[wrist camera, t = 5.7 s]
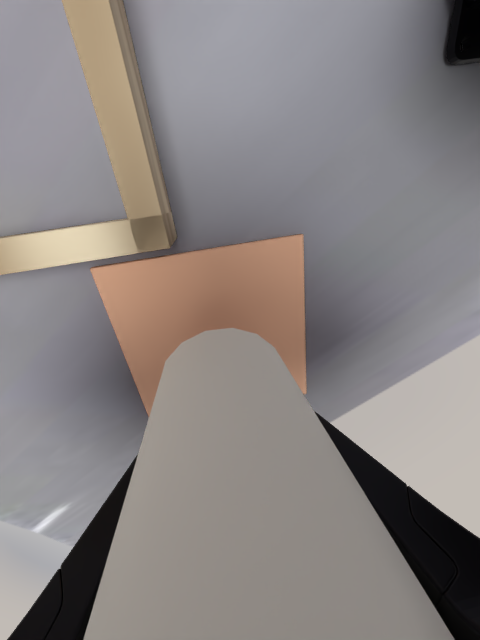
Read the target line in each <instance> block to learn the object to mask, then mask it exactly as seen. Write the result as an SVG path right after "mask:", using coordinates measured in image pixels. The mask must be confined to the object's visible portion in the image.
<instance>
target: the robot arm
mask: <svg viewBox="0 0 480 640" xmlns="http://www.w3.org/2000/svg"><path fill="white" fill-rule="evenodd" d="M461 43H462V45H463V49H462V52H461V50H460V44H461ZM447 60H448V62H449V63H450V64H454V65H455V64H464V63H473V62H480V0H455V4H454V10H453V16H452V22H451V28H450V34H449V40H448V46H447ZM315 414H316V415H317V417H318V419H319V420H320V422H321V424H322V425H323V427H324V428H325V430H326V432H327V433H328V435H329V437H330V438H331V440H332V441H333V443H334V445H335V446H336V448H337V449H338V451H339V453H340V454H341V456H342V458H343V459H344V461H345V462H346V464H347V466H348V467H349V469H350V471H351V472H352V474H353V475H354V477H355V479H356V480H357V482H358V484H359V485H360V487H361V488H362V490H363V492H364V493H365V495H366V497H367V498H368V500H369V501H370V503H371V505H372V506H373V508H374V510H375V511H376V513H377V514H378V516H379V518H380V519H381V521H382V523H383V524H384V526H385V527H386V529H387V531H388V532H389V534H390V536H391V537H392V539H393V540H394V542H395V544H396V545H397V547H398V548H399V550H400V552H401V553H402V555H403V557H404V558H405V560H406V561H407V563H408V565H409V566H410V568H411V570H412V571H413V573H414V574H415V576H416V578H417V579H418V581H419V583H420V584H421V586H422V587H423V589H424V591H425V592H426V594H427V596H428V597H429V599H430V600H431V602H432V604H433V605H434V607H435V609H436V610H437V612H438V613H439V615H440V617H441V618H442V620H443V622H444V623H445V625H446V626H447V628H448V630H449V631H450V633H451V635H452V636H453V638H454V639H455V640H480V538H478V537H477V536H476V535H474V534H473V533H471V532H470V531H468V530H467V529H465V528H464V527H463V526H461V525H459V524H458V523H457V522H456V521H454V520H453V519H451V518H450V517H449V516H447V515H446V514H444V513H443V512H441V511H440V510H439V509H438V508H436V507H435V506H434V505H432V504H431V503H430V502H428V501H427V500H426V499H424V498H423V497H422V496H421V495H419V494H418V493H417V492H416V491H414V490H413V489H412V488H411V487H409V486H407V485H406V483H404V482H403V481H402V480H400V479H399V478H398V477H397V476H396V475H394V474H393V473H392V472H391V471H389V470H388V469H387V468H385V467H384V466H383V465H382V464H380V463H379V462H378V461H377V460H375V459H374V458H373V457H372V456H370V455H369V454H368V453H367V452H365V451H364V450H363V449H362V448H360V447H359V446H358V445H356V444H355V443H354V442H353V441H352V440H350V439H349V438H348V437H347V436H345V435H344V434H343V433H342V432H340V431H339V430H338V429H337V428H335V427H334V426H333V425H332V424H330V423H329V422H328V421H327V420H325V419H324V418H323V417H321V416H320V415H319V414H318V413H316V412H315ZM137 456H138V455H137ZM137 456H136V458H135V459H134V461H133V462H132V463H131V465H130V466H129V468H128V469H127V471H126V472H125V474H124V475H123V476H122V478H121V479H120V481H119V482H118V484H117V485H116V487H115V488H114V489H113V491H112V492H111V494H110V495H109V497H108V498H107V500H106V501H105V503H104V504H103V505H102V507H101V508H100V510H99V511H98V513H97V514H96V516H95V517H94V518H93V520H92V521H91V523H90V524H89V526H88V527H87V529H86V530H85V531H84V533H83V534H82V536H81V537H80V539H79V540H78V542H77V543H76V544H75V546H74V547H73V549H72V550H71V552H70V553H69V555H68V556H67V558H66V559H65V560H64V562H63V563H62V565H61V569H58V570H57V572H56V573H55V575H54V576H53V577H52V579H51V580H50V582H49V583H48V585H47V586H46V588H45V589H44V590H43V592H42V593H41V595H40V596H39V597H38V599H37V600H36V602H35V603H34V604H33V606H32V607H31V609H30V610H29V611H28V613H27V614H26V616H25V617H24V618H23V620H22V621H21V622H20V624H19V625H18V626H17V628H16V629H15V630H14V632H13V633H12V634H11V635H10V637H9V638H8V639H7V640H83V639H84V636H85V632H86V629H87V626H88V622H89V619H90V615H91V612H92V609H93V605H94V602H95V599H96V595H97V592H98V588H99V585H100V582H101V578H102V575H103V571H104V568H105V565H106V561H107V558H108V555H109V551H110V548H111V544H112V541H113V538H114V534H115V531H116V528H117V524H118V521H119V517H120V514H121V511H122V507H123V504H124V500H125V497H126V494H127V490H128V487H129V484H130V480H131V477H132V473H133V470H134V467H135V463H136V460H137Z"/></svg>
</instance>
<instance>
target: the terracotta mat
mask: <svg viewBox="0 0 480 640" xmlns="http://www.w3.org/2000/svg"><path fill="white" fill-rule="evenodd" d="M90 270H91V273H92V275H93V278H94V281H95V283H96V286H97V288H98V291H99V293H100V296H101V298H102V301H103V303H104V306H105V308H106V311H107V313H108V316H109V318H110V321H111V323H112V326H113V328H114V331H115V333H116V336H117V338H118V341H119V344H120V346H121V349H122V351H123V354H124V356H125V359H126V361H127V364H128V366H129V369H130V371H131V374H132V376H133V379H134V381H135V384H136V386H137V389H138V391H139V394H140V396H141V399H142V401H143V404H144V406H145V409H146V412H147V414H148V417H149V416H150V412H151V409H152V406H153V402H154V399H155V396H156V392H157V389H158V385H159V382H160V379H161V375H162V372H163V368H164V365H165V361H166V360H167V359H168V358H169V356H170V355H171V354H172V353H173V352H174V351H175V350H176V348H177V347H178V346H179V345H180V344H181V343H182V342H184V341H186V340H188V339H190V338H192V337H194V336H196V335H198V334H200V333H202V332H204V331H208V330H217V329H226V328H236V329H240V330H243V331H247V332H251V333H255V334H258V335H259V336H260V337H262V338H263V339H264V340H266V341H267V342H268V343H270V344H271V345H272V346H274V347H275V349H276V350H277V352H278V354H279V355H280V357H281V359H282V360H283V362H284V363H285V365H286V367H287V368H288V370H289V372H290V373H291V375H292V376H293V378H294V380H295V381H296V383H297V385H298V386H299V388H300V389H301V391H302V393H303V394H306V344H305V295H304V245H303V234H297V235H291V236H284V237H278V238H272V239H265V240H259V241H253V242H247V243H240V244H234V245H228V246H222V247H215V248H209V249H203V250H197V251H190V252H184V253H178V254H171V255H165V256H159V257H153V258H146V259H140V260H134V261H128V262H121V263H115V264H109V265H102V266H96V267H92V268H90Z"/></svg>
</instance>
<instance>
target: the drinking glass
mask: <svg viewBox="0 0 480 640" xmlns="http://www.w3.org/2000/svg"><path fill="white" fill-rule="evenodd" d="M83 640H455V639H454V638H453V636H452V635H451V633H450V631H449V630H448V628H447V626H446V625H445V623H444V622H443V620H442V618H441V617H440V615H439V613H438V612H437V610H436V609H435V607H434V605H433V604H432V602H431V600H430V599H429V597H428V596H427V594H426V592H425V591H424V589H423V587H422V586H421V584H420V583H419V581H418V579H417V578H416V576H415V574H414V573H413V571H412V570H411V568H410V566H409V565H408V563H407V561H406V560H405V558H404V557H403V555H402V553H401V552H400V550H399V548H398V547H397V545H396V544H395V542H394V540H393V539H392V537H391V536H390V534H389V532H388V531H387V529H386V527H385V526H384V524H383V523H382V521H381V519H380V518H379V516H378V514H377V513H376V511H375V510H374V508H373V506H372V505H371V503H370V501H369V500H368V498H367V497H366V495H365V493H364V492H363V490H362V488H361V487H360V485H359V484H358V482H357V480H356V479H355V477H354V475H353V474H352V472H351V471H350V469H349V467H348V466H347V464H346V462H345V461H344V459H343V458H342V456H341V454H340V453H339V451H338V449H337V448H336V446H335V445H334V443H333V441H332V440H331V438H330V437H329V435H328V433H327V432H326V430H325V428H324V427H323V425H322V424H321V422H320V420H319V419H318V417H317V415H316V414H315V412H314V411H313V409H312V407H311V406H310V404H309V402H308V401H307V399H306V398H305V396H304V394H303V393H302V391H301V389H300V388H299V386H298V385H297V383H296V381H295V380H294V378H293V376H292V375H291V373H290V372H289V370H288V368H287V367H286V365H285V363H284V362H283V360H282V359H281V357H280V355H279V354H278V352H277V350H276V349H275V347H274V346H272V345H271V344H270V343H268V342H267V341H266V340H264V339H263V338H262V337H260V336H259V335H258V334H255V333H251V332H247V331H243V330H240V329H236V328H226V329H217V330H208V331H204V332H202V333H200V334H198V335H196V336H194V337H192V338H190V339H188V340H186V341H184V342H182V343H181V344H180V345H179V346H178V347H177V348H176V350H175V351H174V352H173V353H172V354H171V355H170V356H169V358H168V359H167V360H166V361H165V365H164V368H163V372H162V375H161V379H160V382H159V385H158V389H157V392H156V396H155V399H154V402H153V406H152V409H151V412H150V416H149V419H148V423H147V426H146V429H145V433H144V436H143V440H142V443H141V446H140V450H139V453H138V456H137V460H136V463H135V467H134V470H133V473H132V477H131V480H130V484H129V487H128V490H127V494H126V497H125V500H124V504H123V507H122V511H121V514H120V517H119V521H118V524H117V528H116V531H115V534H114V538H113V541H112V544H111V548H110V551H109V555H108V558H107V561H106V565H105V568H104V571H103V575H102V578H101V582H100V585H99V588H98V592H97V595H96V599H95V602H94V605H93V609H92V612H91V615H90V619H89V622H88V626H87V629H86V632H85V636H84V639H83Z"/></svg>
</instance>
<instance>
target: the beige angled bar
mask: <svg viewBox="0 0 480 640" xmlns="http://www.w3.org/2000/svg"><path fill="white" fill-rule="evenodd" d="M62 3H63V6H64V9H65V13H66V16H67V19H68V23H69V26H70V29H71V33H72V36H73V39H74V42H75V46H76V49H77V52H78V56H79V59H80V62H81V66H82V69H83V72H84V75H85V79H86V82H87V85H88V89H89V92H90V95H91V99H92V102H93V105H94V108H95V112H96V115H97V118H98V122H99V125H100V128H101V131H102V135H103V138H104V141H105V145H106V148H107V151H108V155H109V158H110V161H111V164H112V168H113V171H114V174H115V178H116V181H117V184H118V188H119V191H120V194H121V197H122V201H123V204H124V207H125V211H126V214H127V217H128V218H126V219H119V220H112V221H106V222H99V223H92V224H85V225H78V226H72V227H65V228H58V229H51V230H44V231H38V232H31V233H24V234H17V235H11V236H4V237H0V275H3V274H9V273H16V272H22V271H28V270H35V269H41V268H47V267H54V266H60V265H67V264H73V263H79V262H86V261H92V260H98V259H105V258H111V257H117V256H124V255H130V254H136V253H143V252H149V251H155V250H162V249H168V248H170V247H171V246H172V244H173V243H174V241H175V240H176V238H177V234H176V229H175V225H174V221H173V216H172V212H171V208H170V203H169V199H168V195H167V190H166V186H165V182H164V177H163V173H162V169H161V164H160V160H159V156H158V151H157V147H156V143H155V138H154V134H153V130H152V125H151V121H150V117H149V112H148V108H147V104H146V99H145V95H144V90H143V86H142V82H141V77H140V73H139V69H138V64H137V60H136V56H135V51H134V47H133V43H132V38H131V34H130V30H129V25H128V21H127V17H126V12H125V8H124V4H123V0H62Z"/></svg>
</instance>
